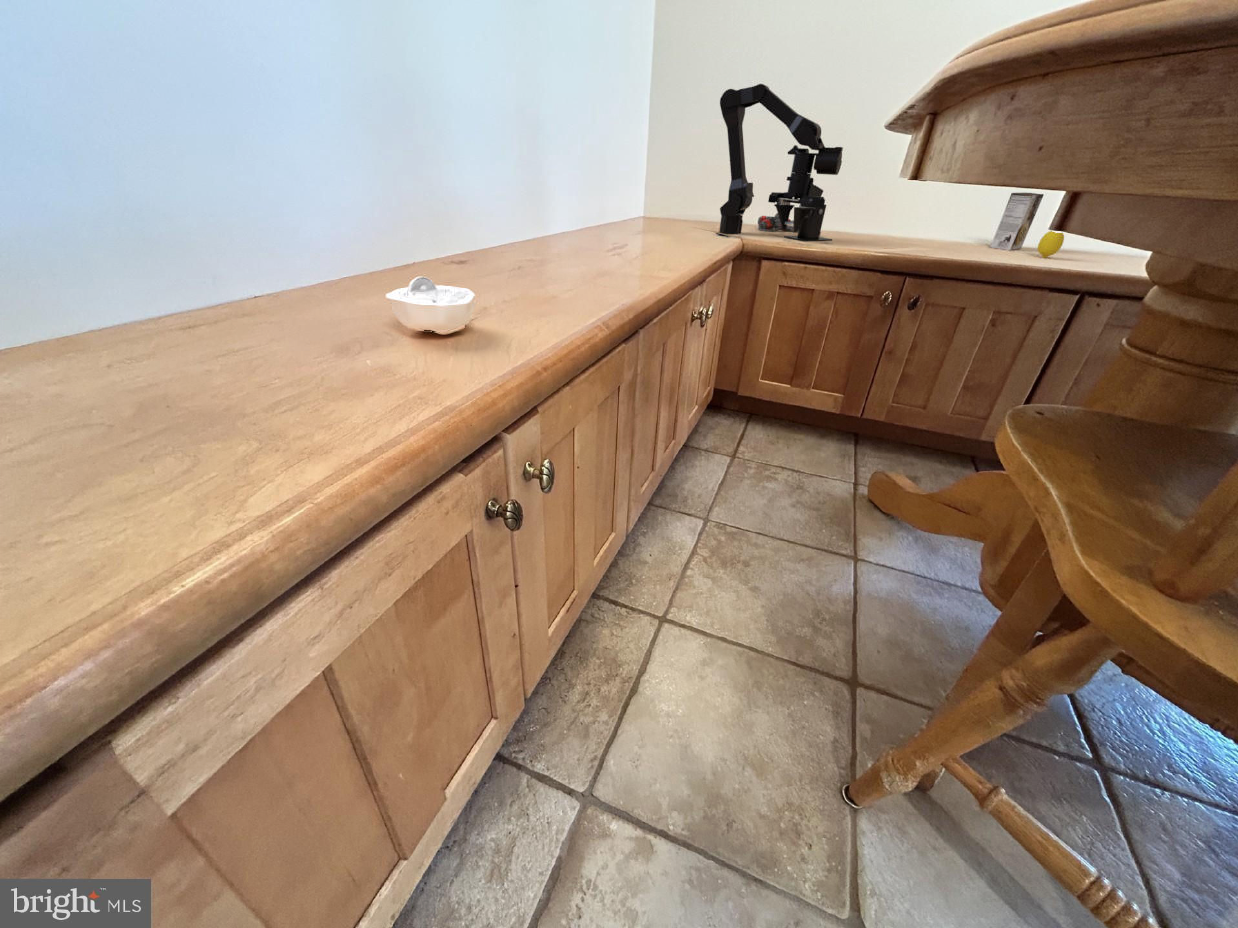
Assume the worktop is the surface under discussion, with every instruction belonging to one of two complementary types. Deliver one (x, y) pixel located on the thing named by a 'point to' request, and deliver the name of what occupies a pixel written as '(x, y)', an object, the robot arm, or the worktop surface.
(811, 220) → the tap bracket
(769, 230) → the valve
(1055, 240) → the lemon
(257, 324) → the worktop surface
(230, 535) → the worktop surface
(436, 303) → the cell model
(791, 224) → the tap lever
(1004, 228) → the coffee box
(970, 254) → the worktop surface
